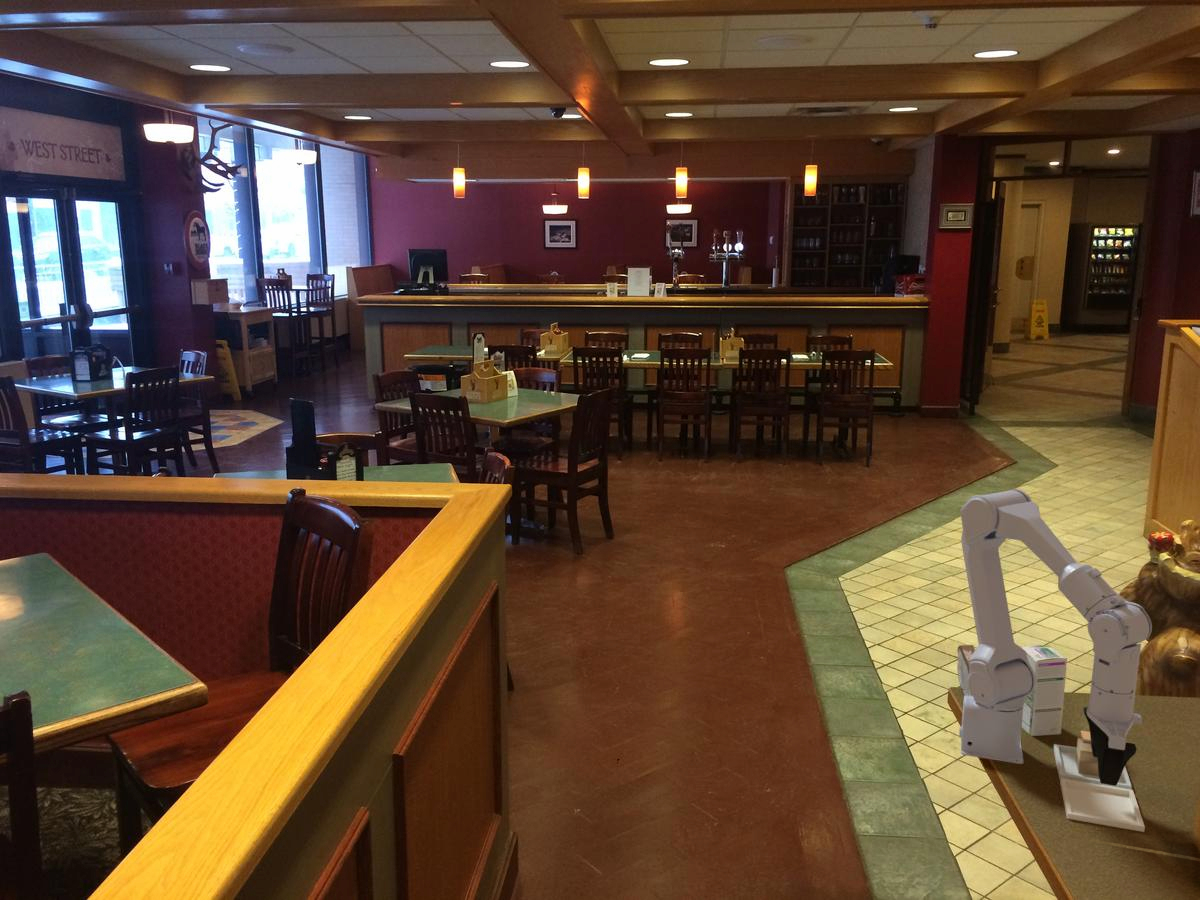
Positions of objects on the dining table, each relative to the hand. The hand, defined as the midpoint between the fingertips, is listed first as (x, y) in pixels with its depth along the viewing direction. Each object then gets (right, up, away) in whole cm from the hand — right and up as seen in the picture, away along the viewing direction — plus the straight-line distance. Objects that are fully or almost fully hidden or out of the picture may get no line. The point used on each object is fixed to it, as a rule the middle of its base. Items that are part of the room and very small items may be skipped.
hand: (1104, 769), depth 140 cm
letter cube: (+4, -4, +11) cm, 13 cm away
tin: (-5, +1, +38) cm, 38 cm away
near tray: (0, -6, +1) cm, 6 cm away
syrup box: (+1, -1, +25) cm, 25 cm away
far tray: (+4, -4, +11) cm, 13 cm away
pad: (+10, -2, +20) cm, 22 cm away
